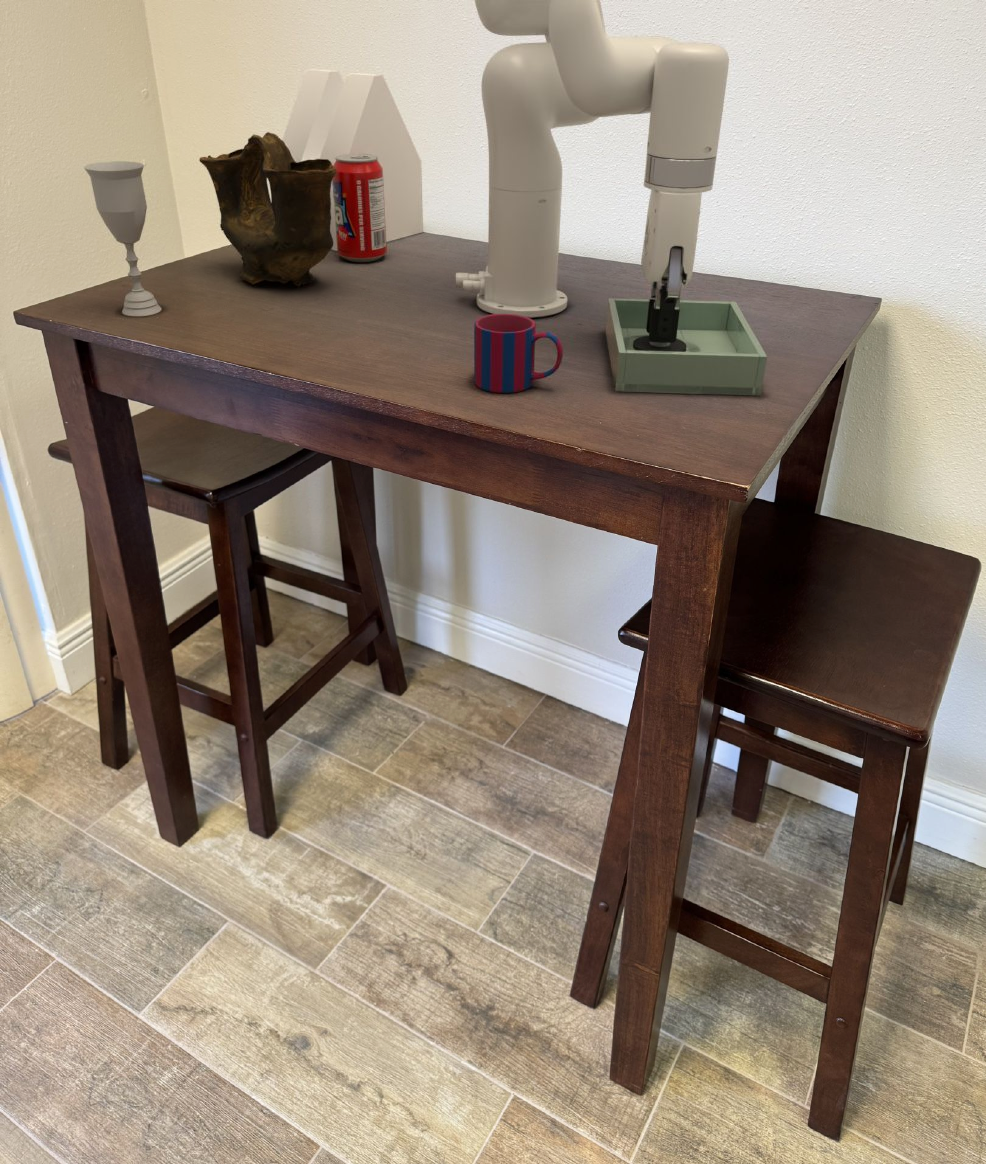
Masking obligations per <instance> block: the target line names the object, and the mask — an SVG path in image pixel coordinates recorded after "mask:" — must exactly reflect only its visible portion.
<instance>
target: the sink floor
mask: <svg viewBox="0 0 986 1164" xmlns="http://www.w3.org/2000/svg"><path fill="white" fill-rule="evenodd" d="M606 331H607V330H606V329H605V332H606ZM621 331H622V336H623V340H624V345H625V349H626V350H635V349H634V348H633V342H634V340H635V339H637V338H639V337H643V336H649V333H647V331H646V329H642V328H621ZM676 338H677V339H679V340H682V341H683V342H685V343H686V346H687V347H686V351H685V352H705V353H737V351H736V349H735V347H734V345H733V343H732V342H731V340H730V338H729V336H728V334H727V332H726V331H714V330H678V329H677V337H676ZM635 351H636V350H635ZM613 370H614V369H613ZM614 379H615V376H614ZM614 379H613V380H614ZM615 385H616V388H617V387H618V388H619V389H618V388H617V389H618V390H620V391H619V392H623V393H624V392H625V393H627V392H629V393H644V392H643V390H642V389H643V388H640V389H641V391H639V392H638V390H639V389H638V388H639V386H638V384H637V385H636V387H637V389H636V387H635V386H634V384H633V385H632V384H628V385H629V386H628V385H627V386H628V387H629V388H627V389H628V391H626V390H627V389H626V388H625V389H624V383H623V384H620V386H621V385H622V386H621V387H622V388H620V386H619V384H616V382H615ZM615 385H614V386H615ZM617 385H618V386H617ZM630 385H632V387H633V388H631V387H630ZM625 386H626V384H625ZM642 386H643V385H642ZM642 386H641V387H642ZM646 386H647V384H646ZM650 386H651V384H650ZM656 386H657V385H656ZM656 386H653V387H655V392H654V388H653V387H652V386H651V388H650V391H651V392H650V393H654V394H655V393H657V394H658V393H659V394H685V393H684V392H686V391H685V390H687V392H688V390H689V392H688V393H687V394H692V395H693V394H695V395H714V394H713V392H712V394H710V393H711V392H710V391H711V390H712V391H714V393H715V391H716V390H717V389H716V388H715V387H714V389H713V388H711V387H710V388H709V389H708V388H707V387H708V386H705V387H706V388H704V387H703V386H702V390H704V389H706V391H707V390H709V392H710V393H709V392H708V391H707V392H705V393H703V392H704V391H703V392H701V394H700V392H698V393H692V392H691V393H690V390H693V389H691V388H690V387H689V386H688V387H689V388H687V389H685V388H684V392H682V393H681V392H680V393H679V389H680V391H681V387H682V386H681V385H680V388H678V387H679V386H678V387H677V388H678V393H676V392H668V391H669V390H668V391H667V389H668V388H667V387H669V386H667V385H666V386H667V387H666V388H665V389H666V391H667V392H664V388H663V387H662V386H661V387H662V388H660V389H659V388H658V390H660V392H656V391H657V390H656ZM670 386H671V385H670ZM634 387H635V390H636V391H634ZM659 387H660V386H659ZM672 387H673V386H672ZM684 387H686V386H685V385H684ZM698 387H699V386H698ZM630 388H631V389H630ZM648 388H649V384H648ZM669 388H670V387H669ZM693 388H694V387H693ZM700 388H701V387H700ZM700 388H699V389H700ZM717 388H719V389H718V390H719V391H718V390H717V391H718V393H719V394H718V395H724V394H723V393H725V392H722V394H720V390H722V389H720V387H717ZM730 388H733V387H730ZM735 388H736V387H734V388H733V389H732V391H731V390H730V391H731V393H730V394H729V392H730V391H729V392H728V390H729V389H728V390H726V387H725V389H724V388H723V390H722V391H724V390H725V391H727V393H726V394H725V395H729V396H730V395H732V396H745V395H744V394H747V393H749V391H752V392H750V393H749V394H750V395H749V394H748V395H747V396H757V395H760V396H761V394H760V391H759V393H757V392H758V390H757V392H756V393H757V395H756V393H754V392H755V389H756V388H755V387H754V388H750V389H751V390H749V389H746V388H743V392H744V393H743V394H742V388H740V387H739V388H740V389H738V390H740V391H739V392H737V391H738V390H737V389H736V390H737V391H736V392H737V393H738V394H732V392H733V390H734V389H735ZM737 388H738V387H737ZM629 389H630V390H629ZM652 389H653V390H652ZM661 389H663V392H661ZM675 389H676V386H675ZM696 389H697V387H695V389H694V390H696ZM614 390H615V389H614ZM621 390H622V391H621ZM624 390H625V391H624ZM645 390H647V388H645ZM676 390H677V389H676ZM694 390H693V391H694ZM747 390H749V391H747ZM760 390H761V391H762V389H761V388H760ZM652 391H653V392H652ZM670 391H674V388H672V390H670ZM682 391H683V389H682ZM697 391H698V389H697ZM746 391H747V392H746ZM615 392H617V391H616V390H615ZM751 394H752V395H751Z"/></svg>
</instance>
